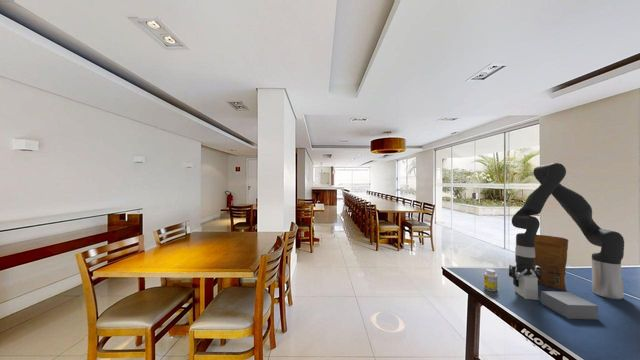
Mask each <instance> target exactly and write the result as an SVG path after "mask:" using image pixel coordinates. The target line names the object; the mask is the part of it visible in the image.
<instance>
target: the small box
mask: <svg viewBox="0 0 640 360" xmlns="http://www.w3.org/2000/svg"><path fill="white" fill-rule="evenodd" d="M518 273H519V272H518ZM519 274H520V273H519ZM516 277H517V276H516ZM518 280H519V287H516V286H515V285H514V292H515V293H516V294H518V295H520V296H521V298H523V299H524V300H537V301H538V300H539V287H538V286H539V285H538V284H539V283H538V279H537V278H535V277H534V276H532V275H523V276H522V277H520V278H519V279H518Z"/></svg>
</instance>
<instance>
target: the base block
mask: <svg viewBox="0 0 640 360" xmlns="http://www.w3.org/2000/svg"><path fill="white" fill-rule="evenodd" d="M540 303H541V305H543V306H545V307H547V308H549V309H550V310H552V311H554V312H555V313H557V314H559V315H561V316H563V317H565V318H567V320H568V319H570V320H573V319H574V320H599V305H597V304H595V303H593V302H591V301H588V300H586V299H584V298H582V297H580V296H578V295H575V294H573V293H572V292H569V291H552V290H551V291H550V290H549V291H548V290H545V291H544V290H542V291H541V290H540Z"/></svg>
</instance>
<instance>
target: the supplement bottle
mask: <svg viewBox="0 0 640 360" xmlns="http://www.w3.org/2000/svg"><path fill="white" fill-rule="evenodd" d="M483 275H484V288H485V289H486V290H487V291H489V292H497V291H498V275H497V273H496V270H494V269H492V268H486V269H485V272H484V274H483Z"/></svg>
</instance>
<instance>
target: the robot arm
mask: <svg viewBox="0 0 640 360" xmlns="http://www.w3.org/2000/svg"><path fill="white" fill-rule="evenodd" d="M532 172H533V176H534V177H535V179H536V180H537V181H538V182H539V184H540V185H539V186H538V187H537V188H535V190H533V191H531V193H530V194H529V195H528V196H527V198H526V200H525V202H524V204H523V206H521V208H520V209H518V211H516V212H515V213H514V214H513V216H512V217H511V225H512V226H513V227H515V228H517V229H522V230H525V232H524V233H523V232H520V233H517V234H516V235H515V251H514V252H515V258H514V259H515V260H514V261H515V265H512V264H509V267H508V277H510V278H511V279H512V283H513V286H514V287H515V286H516V287H519V280H518V279H519V278H520V277H522V276H523V275H532V276H534V277H535V278H537V279H542V268H541V267H538V266H535V237H536V235H538V234H537V233H538V231H539V229H540V221H539V219H538V218H537V217H536V215H537V216H538V215H540V214H541V212H542V211H543V208H544V206H545V204H546V202H547V201H548V199H549V197H550V196H553V197H554V199H555V200H556V201H557V203H558V204H560V205H559V206H561V207H562V208H563V210H564V211H565V212H566V213H567V214H568V216H570V218H571V219H572V221H574V222H575V224H576V225H577V227H578V228H579V229H580V231H581V232H582V234H583V235H584V237H585V239H586V240H587V242H589V243H590V244H592V245H593V246H597V247H600V248H601V249H600V252H594V253H592V254H591V289H592V290H591V291H592V293H593V294H595V295H597V296H600V297H604V298H607V299H612V300H622V299H624V298H625V297H624V296H625V295H624V293H625V292H624V279H623V278H622V260H623V258H624V253H625V251H624V250H625V238H624V236H623V235H622V234H621V233H620V232H618V231H614V230H609V229H603V228H601V227H600V226H599V225H598V224H597V223H596V222H595V221H594V219H593V209H592V207H591V204H590V203H589V202H588V201H587V199H585V197H584V196H583V195H581V194H579V192H576V191H575V190H572V189H569V188H568V187H566V186H564V185H562V184H561V182H562V181H563V180H564V179H565V176H566V174H567V170H566V167H565V166H564V164H563V163H559V162H553V163H547V164H542V165H538V166H536V167H534V169H533V171H532ZM534 270H535V273H534V272H533V271H534ZM518 272H519V273H520V274H519V273H518ZM538 274H539V276H538ZM516 276H517V277H516Z"/></svg>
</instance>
